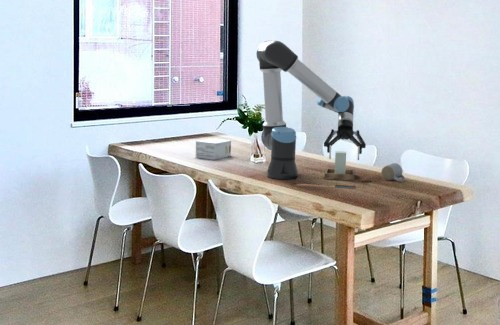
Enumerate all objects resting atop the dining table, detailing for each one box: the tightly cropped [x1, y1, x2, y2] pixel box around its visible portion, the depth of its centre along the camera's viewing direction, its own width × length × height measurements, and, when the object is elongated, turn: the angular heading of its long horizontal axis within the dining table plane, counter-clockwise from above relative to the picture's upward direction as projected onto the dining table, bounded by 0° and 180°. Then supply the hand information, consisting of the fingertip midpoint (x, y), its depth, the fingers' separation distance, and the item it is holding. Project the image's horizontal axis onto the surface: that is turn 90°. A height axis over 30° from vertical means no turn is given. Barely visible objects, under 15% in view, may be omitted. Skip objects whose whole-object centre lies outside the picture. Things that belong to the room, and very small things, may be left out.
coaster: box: [334, 184, 356, 190], centre depth 309 cm, size 9×9×1 cm
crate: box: [323, 168, 356, 181], centre depth 326 cm, size 14×14×4 cm
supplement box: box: [195, 138, 232, 161], centre depth 382 cm, size 17×13×9 cm
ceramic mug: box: [380, 162, 406, 183], centre depth 326 cm, size 11×8×8 cm
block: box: [334, 150, 347, 174], centre depth 325 cm, size 5×5×12 cm
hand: (344, 158), depth 328 cm, fingers open, 13 cm apart
